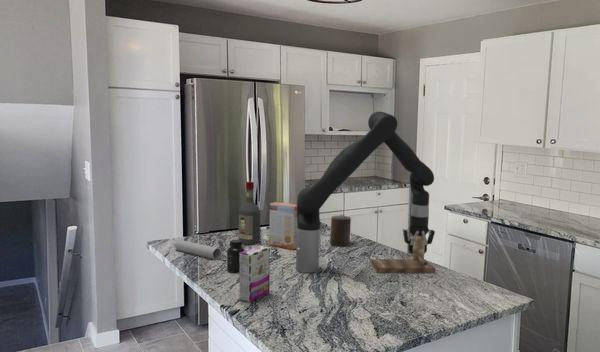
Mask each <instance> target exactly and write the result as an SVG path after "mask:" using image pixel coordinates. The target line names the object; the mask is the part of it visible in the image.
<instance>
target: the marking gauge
mask: <svg viewBox="0 0 600 352" xmlns="http://www.w3.org/2000/svg"><path fill="white" fill-rule="evenodd" d="M412 238H413V236H412ZM424 249H425V241H424V239H423V236H417V237H416V239H415V241H414V240H413V253H410V259H419V260H420V261H421V262H422V263H423V264H424V265H427V261H428V260H426V261H424V260H425V254H424Z"/></svg>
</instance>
